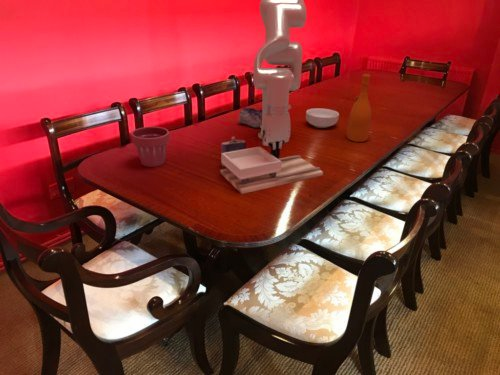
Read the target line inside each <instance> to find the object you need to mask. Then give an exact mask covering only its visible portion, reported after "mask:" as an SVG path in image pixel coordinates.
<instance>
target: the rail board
mask: <svg viewBox="0 0 500 375" xmlns="http://www.w3.org/2000/svg"><path fill="white" fill-rule="evenodd" d="M279 160H280V161H282V163H281V171H279V172H276V176H275V177H273V178H272V177H271V176H269V174H265V175H260V176H255V177H250V178H249V181H248V183H246V184H245V183H243V182H242V181H241V180H240V179H239V178H238V177H237V176H236V175H235V174H234V173H232V172H231V171H230V170H229V169H228V168H225V169H224V168H223V169H220V175H222V177H224V178H225V179H226V180H227V181H228V182H229V183H230V184H231V185H232V186H233V188H235V189H236V190H237V191H238V192H239V193H240V194H241V195H244V194H248V193H251V192H256V191H261V190H265V189H269V188H275V187H278V186H282V185H287V184H291V183H296V182H299V181H305V180H308V179H313V178H318V177H322V176H324V171H322V170H321V167H319V166H314V165H313V164H311V163H310V162H308V161H306V160H305V159H303V158H302V155H300V154H297V155H296V154H295V155H291V156H286V157H281V158H280V157H279Z"/></svg>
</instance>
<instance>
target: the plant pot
mask: <svg viewBox="0 0 500 375" xmlns="http://www.w3.org/2000/svg"><path fill="white" fill-rule="evenodd" d="M130 133H131V134H130V135H131V136H130V137H131V143H132V144H133V146H135V149H136V152H137V155H138V157H139V160H140V164H141V165H142V166H145V167H149V168H154V167H160V166H162V165H164V163H165V162H166V155H167V150H168V149H167V148H168V143H169V142H170V132H169V129H167V128H165V127H160V126H145V127H139V128H136V129H134V130H133V131H131V132H130Z"/></svg>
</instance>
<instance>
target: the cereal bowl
mask: <svg viewBox="0 0 500 375" xmlns="http://www.w3.org/2000/svg"><path fill="white" fill-rule="evenodd" d="M339 117H340V113H339V112H338V111H336V110H333V109H329V108H318V107H317V108H310V109H309V108H308V109H307V110H306V112H305V119H306V121H307V122H308V123H309V124H310V125H312V126H313V127H314V128H319V129H324V128H325V129H326V128H329V127H331V126H334V125H336V124H337V122H338V121H339Z"/></svg>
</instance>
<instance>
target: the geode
mask: <svg viewBox="0 0 500 375" xmlns="http://www.w3.org/2000/svg"><path fill="white" fill-rule="evenodd" d="M238 124H240V125H246V126H248V127H251V128H253V129H261V128H260V126H261V125H262V109H256V108H254V107H251V106H249V107H247V106H245V107H242V110H240V111H239V116H238Z"/></svg>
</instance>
